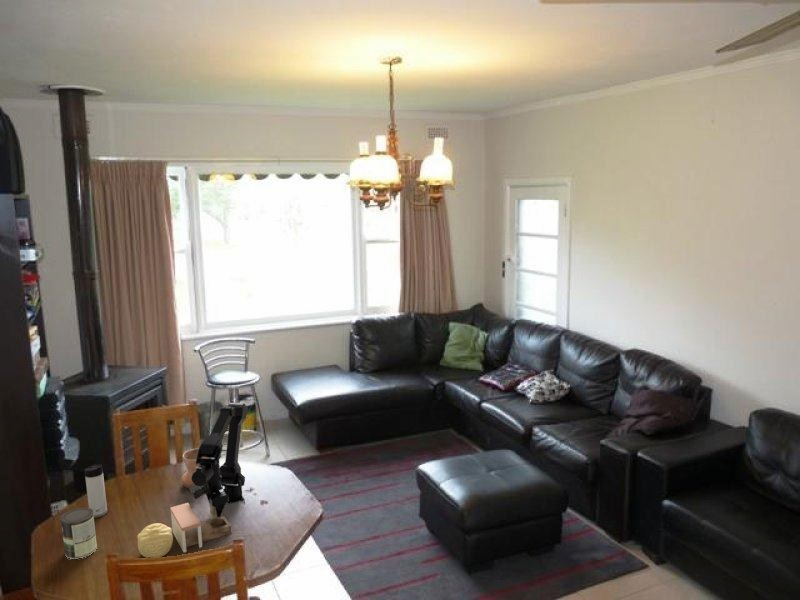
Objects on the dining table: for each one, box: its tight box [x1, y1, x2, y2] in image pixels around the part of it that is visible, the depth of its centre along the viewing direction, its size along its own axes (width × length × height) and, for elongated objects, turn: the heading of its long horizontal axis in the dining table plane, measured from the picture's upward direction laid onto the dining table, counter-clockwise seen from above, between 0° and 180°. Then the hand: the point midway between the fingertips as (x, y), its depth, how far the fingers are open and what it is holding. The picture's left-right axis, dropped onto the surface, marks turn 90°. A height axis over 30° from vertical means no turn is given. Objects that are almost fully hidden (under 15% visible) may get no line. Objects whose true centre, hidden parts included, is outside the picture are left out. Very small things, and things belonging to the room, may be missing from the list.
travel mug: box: [84, 463, 108, 518], centre depth 249 cm, size 6×7×20 cm
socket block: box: [185, 515, 233, 548], centre depth 234 cm, size 16×8×3 cm, turn 122°
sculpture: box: [136, 522, 174, 559], centre depth 222 cm, size 12×12×11 cm
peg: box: [208, 500, 221, 520], centre depth 244 cm, size 4×4×8 cm
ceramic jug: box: [181, 447, 209, 489], centre depth 273 cm, size 18×14×14 cm
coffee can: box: [60, 507, 98, 560], centre depth 224 cm, size 10×10×14 cm
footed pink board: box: [169, 502, 203, 553], centre depth 231 cm, size 6×17×10 cm, turn 32°
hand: (215, 511), depth 245 cm, fingers open, 9 cm apart
